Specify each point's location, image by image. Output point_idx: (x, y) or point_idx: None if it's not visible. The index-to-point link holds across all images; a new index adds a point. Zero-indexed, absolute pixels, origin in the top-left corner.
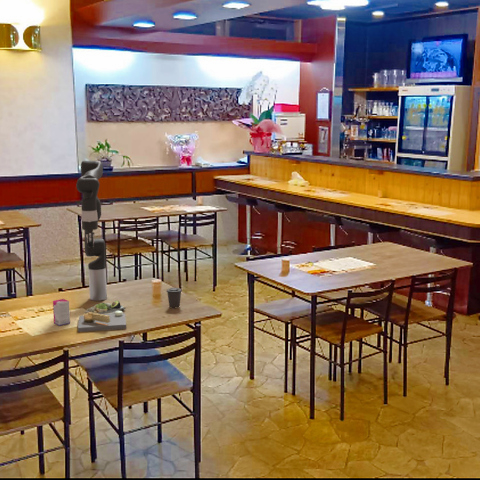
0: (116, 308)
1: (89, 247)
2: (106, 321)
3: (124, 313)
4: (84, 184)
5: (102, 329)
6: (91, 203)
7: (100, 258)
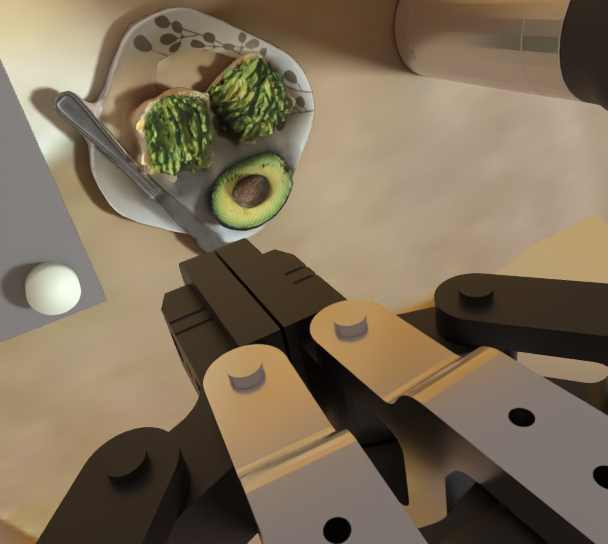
0: (209, 212)
1: (200, 399)
2: None
3: (94, 302)
4: None
5: None
6: None
7: None
